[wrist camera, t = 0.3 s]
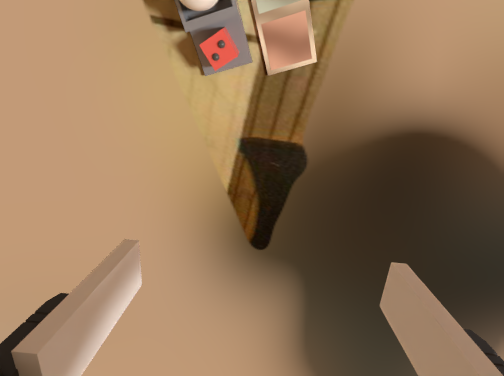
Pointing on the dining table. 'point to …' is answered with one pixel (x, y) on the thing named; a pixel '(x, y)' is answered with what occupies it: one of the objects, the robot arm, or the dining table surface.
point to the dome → (199, 4)
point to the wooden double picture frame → (285, 33)
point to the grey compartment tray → (217, 35)
